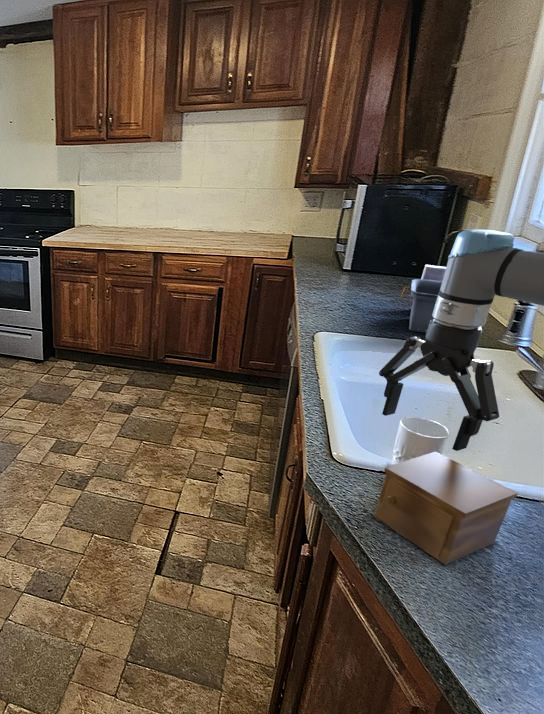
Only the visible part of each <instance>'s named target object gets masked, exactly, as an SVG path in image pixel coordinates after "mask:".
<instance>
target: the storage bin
mask: <svg viewBox="0 0 544 714" xmlns="http://www.w3.org/2000/svg"><path fill="white" fill-rule="evenodd" d="M441 284H442V282H440V281H432V280H423V279H421V278H419V279H418V278H417V279H416V278H415V279H412V280H411V284H410V286H405V287H404V288H403V290H402V293H401V296H400V299H401V300H402V299H403V298H404V296H405V292H410V297H411V298H413V300H412V305H411V311H410V314H409V315H410V316H409V327H408V329H409V331H412V332H417V333H423V334H426V333H427V331H425V330H427V329H428V326H429V323H430V321H431V320H432V319H434V318H433V316H432V314H433V310H434V307H435V304H436V300H437V297H438V294H439V290H440V288H441ZM418 329H419V330H418Z"/></svg>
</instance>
